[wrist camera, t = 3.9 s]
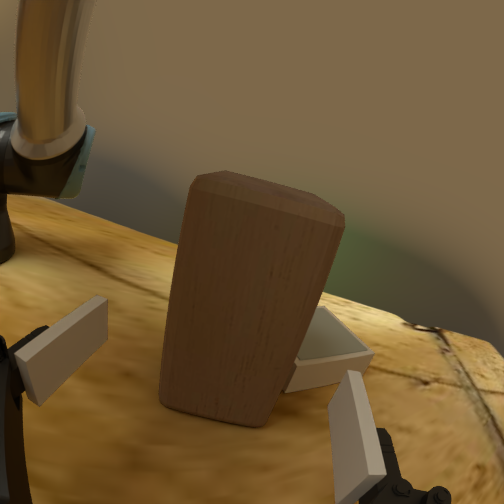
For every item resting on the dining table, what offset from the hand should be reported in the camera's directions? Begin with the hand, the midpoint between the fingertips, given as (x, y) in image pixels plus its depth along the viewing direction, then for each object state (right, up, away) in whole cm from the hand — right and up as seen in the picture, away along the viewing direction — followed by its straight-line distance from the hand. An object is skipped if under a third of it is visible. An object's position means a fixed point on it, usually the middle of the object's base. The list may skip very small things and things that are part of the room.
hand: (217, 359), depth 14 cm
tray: (+8, -8, +22) cm, 25 cm away
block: (-2, -8, +13) cm, 16 cm away
